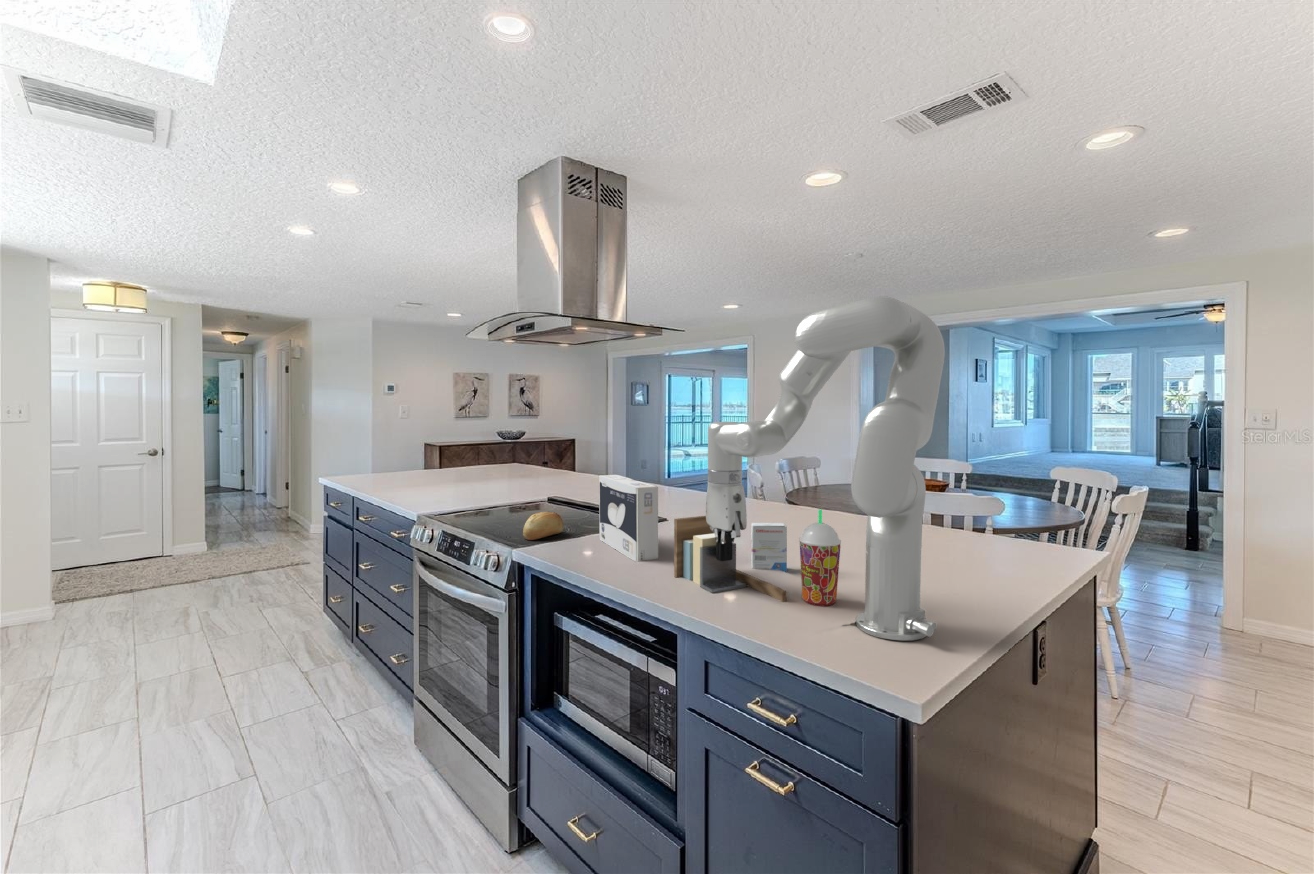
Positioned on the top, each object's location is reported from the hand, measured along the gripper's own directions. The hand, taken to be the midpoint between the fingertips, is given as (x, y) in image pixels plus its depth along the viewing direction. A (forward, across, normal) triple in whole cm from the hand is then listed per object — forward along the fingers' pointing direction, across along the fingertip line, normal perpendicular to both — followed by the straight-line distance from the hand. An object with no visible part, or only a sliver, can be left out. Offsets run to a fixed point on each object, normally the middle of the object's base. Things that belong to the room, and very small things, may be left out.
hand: (724, 559), depth 132 cm
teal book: (+7, +10, 0) cm, 12 cm away
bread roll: (+8, +73, +19) cm, 76 cm away
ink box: (+8, +10, -20) cm, 23 cm away
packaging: (+8, +46, +3) cm, 46 cm away
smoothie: (+7, -16, -13) cm, 22 cm away
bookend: (+6, +1, 0) cm, 6 cm away
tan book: (+7, +5, 0) cm, 8 cm away
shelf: (+7, 0, -1) cm, 7 cm away
